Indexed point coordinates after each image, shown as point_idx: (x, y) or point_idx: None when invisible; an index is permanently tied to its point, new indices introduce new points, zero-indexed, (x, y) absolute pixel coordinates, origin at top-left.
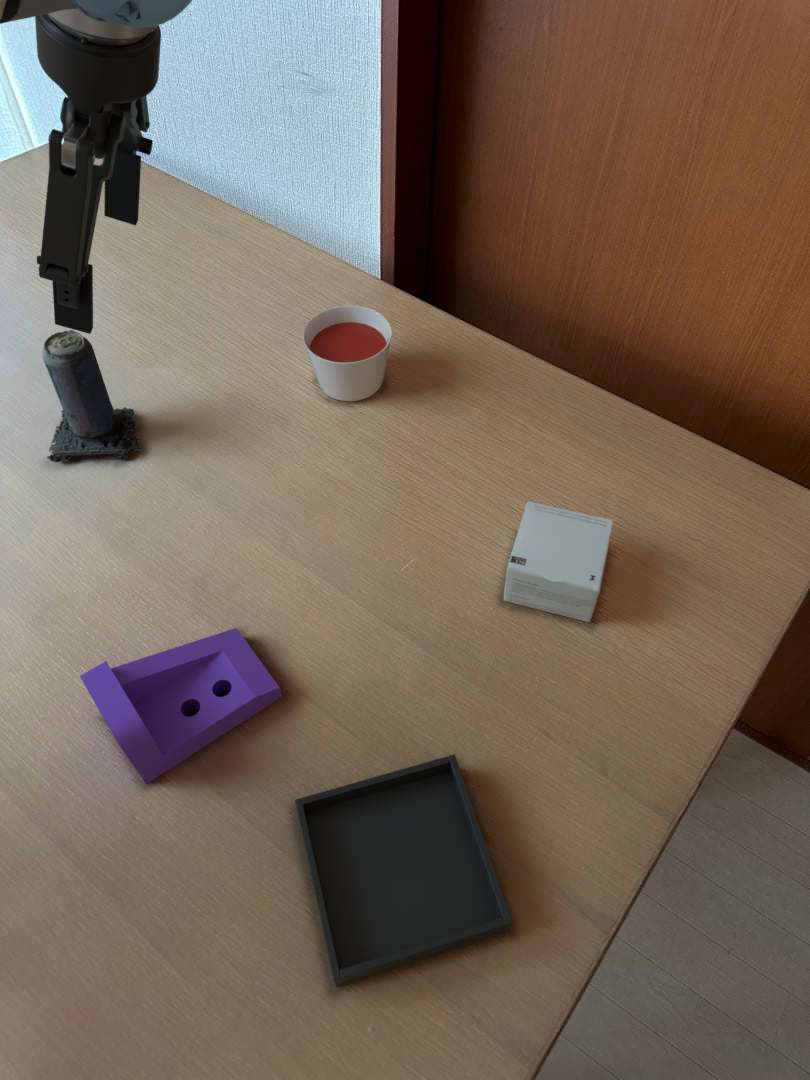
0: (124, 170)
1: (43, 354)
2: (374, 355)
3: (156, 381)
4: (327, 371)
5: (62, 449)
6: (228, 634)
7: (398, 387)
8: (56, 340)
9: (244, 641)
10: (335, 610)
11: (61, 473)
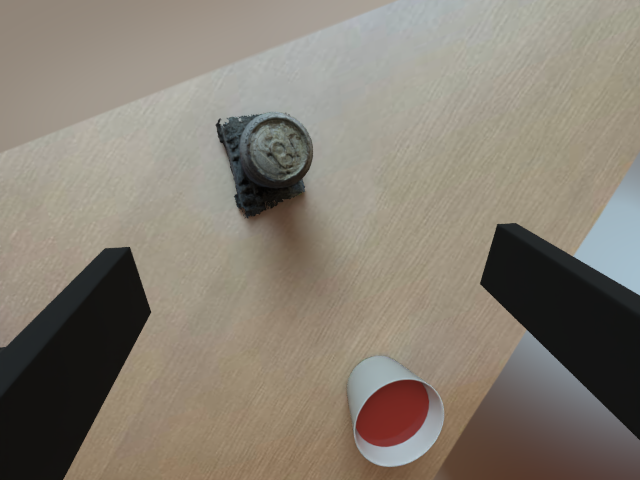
0: (617, 369)
1: (257, 119)
2: (369, 459)
3: (355, 197)
4: (353, 403)
5: (234, 132)
6: None
7: None
8: (282, 134)
9: None
10: (92, 453)
11: (207, 139)
